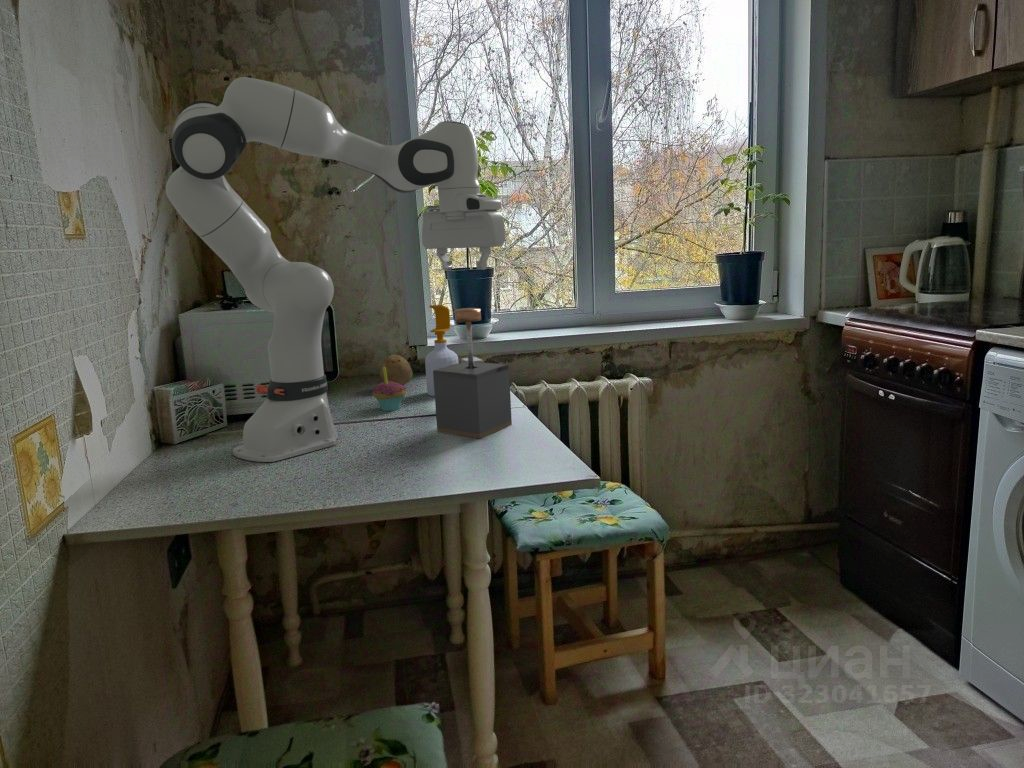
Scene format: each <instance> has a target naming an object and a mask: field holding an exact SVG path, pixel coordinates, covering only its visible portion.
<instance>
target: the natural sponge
mask: <svg viewBox="0 0 1024 768" xmlns="http://www.w3.org/2000/svg"><path fill="white" fill-rule="evenodd" d="M383 364H384V366H383ZM383 367H386V373H387V380H388V381H394V382H398V383H400V384H402V385H403V386H404V387H405V385H406V384H408V383H409V382H410V381H411V380H412V378H413V375H414V374H413V371H412V370H413V369H412V367H411V365H410V364H409V362H408V360H407V359H406V358H405V357H403V356H401V355H398V354H390V355H388V356H386V358H385V359H383V361H382V363H381V365H380V371H379V376H380V378H381V380H382V381H383V382H385V378H384V371H383Z"/></svg>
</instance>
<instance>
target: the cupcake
mask: <svg viewBox="0 0 1024 768" xmlns="http://www.w3.org/2000/svg"><path fill="white" fill-rule="evenodd" d="M383 366H384V364H383ZM383 371H384V378H385V381H383V382H379V383H377V384H376V385H375V386H374V387H373V389H372V396H373V397H374V399H376V400H377V402H378V405H379V406H380V409H381V411H384V412H392V411H397V410H400V409H401V406H402V402H403V399H404V396H405V395H406V394H407V391H406V387H405V385H404V386H403V385H402V384H400V383H398V382H394V381H388V380H387V373H386V367H383Z"/></svg>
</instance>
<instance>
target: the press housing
mask: <svg viewBox="0 0 1024 768" xmlns="http://www.w3.org/2000/svg"><path fill="white" fill-rule="evenodd" d="M433 378H434V392H435V397H434V400H435V401H434V403H435V404H434V405H435V416H436V431H437V433H443V434H448V435H454V436H460V437H467V438H473V439H483V438H485V437H487V436H490V435H491V434H495V433H497V432H499V431H501V430H503V429H505V428H507V427H510V426H512V425H513V423H512V419H513V418H512V404H511V403H512V402H511V399H512V398H511V384H510V383H511V381H510V364H508V363H496V362H484V361H483V362H474V369H469V367H468V361H464V362H461V361H460V362H458V364H454V365H451V366H447V367H444V368H440V369H437V370H434V371H433Z"/></svg>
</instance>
